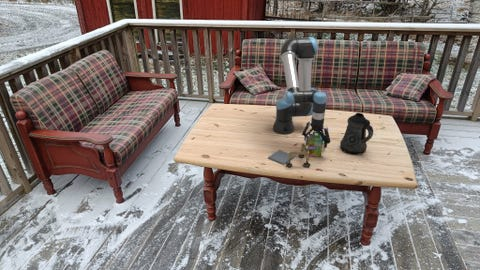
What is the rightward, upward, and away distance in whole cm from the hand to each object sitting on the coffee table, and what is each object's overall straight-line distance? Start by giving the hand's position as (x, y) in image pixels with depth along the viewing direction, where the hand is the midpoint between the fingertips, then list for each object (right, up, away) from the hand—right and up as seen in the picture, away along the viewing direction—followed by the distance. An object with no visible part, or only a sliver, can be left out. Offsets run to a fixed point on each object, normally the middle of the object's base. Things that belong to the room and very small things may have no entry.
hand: (314, 148), depth 214 cm
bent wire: (-10, -9, -9) cm, 16 cm away
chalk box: (0, -3, +2) cm, 4 cm away
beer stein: (+27, -1, +5) cm, 28 cm away
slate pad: (-22, -6, -3) cm, 22 cm away
